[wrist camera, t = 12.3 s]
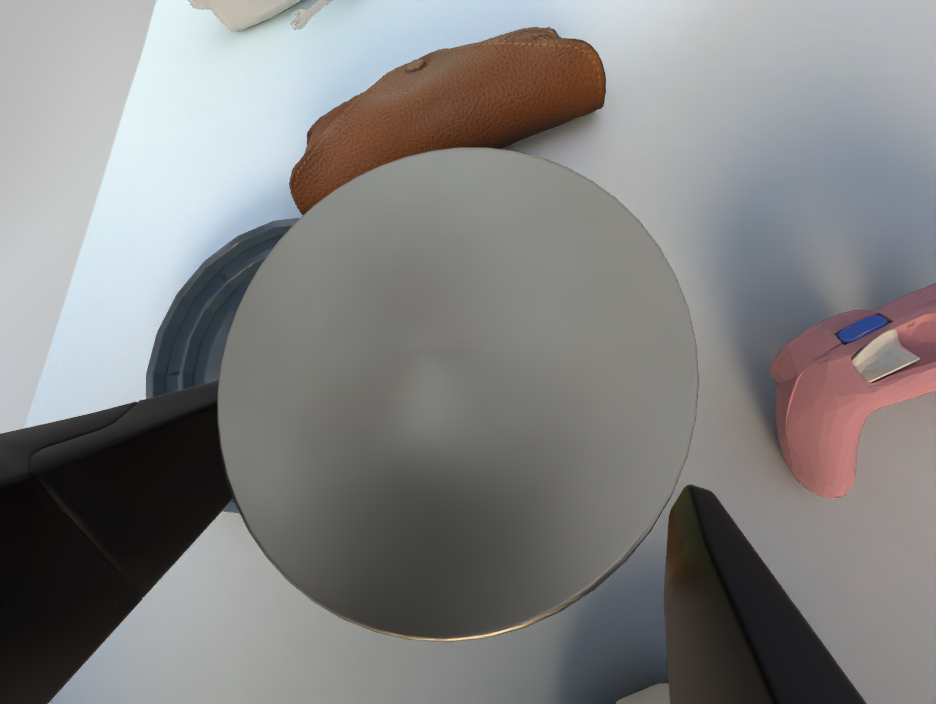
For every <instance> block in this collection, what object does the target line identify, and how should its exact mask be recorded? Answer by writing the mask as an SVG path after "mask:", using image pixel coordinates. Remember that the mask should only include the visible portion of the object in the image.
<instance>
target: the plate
mask: <svg viewBox="0 0 936 704" xmlns="http://www.w3.org/2000/svg"><path fill="white" fill-rule="evenodd" d="M299 219H300V218H295V219H286V220H277V221H272V222H270V223H268V224H265V225H263V226H260V227H258V228H256V229H253V230H251V231H248V232H246V233H244V234H241V235H239V236H237V237H236V238H234V239H233V240H232V241H230V242H229V243H228V244H226V245H225V246H224V247H222V248H221V249H220V250H218V251H217V252H216V253H215V254H213V255H212V256H211V257H209V258H208V259H207V260H205V261H204V262H203V264H202V265H201V266H200V267H199V268H198V270H197V271H196V272H195V273H194V274H193V275H192V277H191V278H190V279H189V280H188V281H187V283H186V284H185V285H184V286H183V287H182V289H181V290H180V291H179V292H178V294H177V295H176V297H175V299H174V301H173V303H172V305H171V307H170V309H169V310H168V312H167V314H166V316H165V318H164V320H163V322H162V324H161V326H160V328H159V330H158V332H157V335H156V339H155V342H154V346H153V350H152V354H151V358H150V361H149V365H148V369H147V373H146V374H147V375H146V399H149V398H152V397H156V396H160V395H164V394H168V393H171V392H175V391H179V390H183V389H186V388H190V387H194V386H198V385H202V384H205V383H209V382H213V381H217V380H219V376H220V368H221V362H222V358H223V354H224V349H225V345H226V341H227V337H228V334H229V331H230V328H231V325H232V323H233V320H234V317H235V314H236V311H237V309H238V307H239V305H240V303H241V301H242V298H243V296H244V294H245V292H246V290H247V288H248V286H249V284H250V283H251V281H252V279H253V278H254V276H255V274H256V273H257V271H258V269H259V267H260V266H261V264H262V263H263V261H264V260H265V259H266V257H267V256H268V255H269V253H270V252H271V251H272V249H273V248H274V247H275V245H276V244H277V242H278V241H279V240H280V239H281V238H282V237H283V236H284V235H285V234H286V233H287V231H288V230H289V229H290V228H291V227H292V226H293V225H294V224H295V223H296V222H297V221H298V220H299ZM222 511H224V512H234V513H239V511H238V509H237V507H236V504H235V502H234V499H232V500H231V501H230V503H229V504H228V505H227V506H226V507H225V508H224V509H223V510H222Z"/></svg>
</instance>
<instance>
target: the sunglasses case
mask: <svg viewBox="0 0 936 704" xmlns="http://www.w3.org/2000/svg"><path fill="white" fill-rule="evenodd" d="M605 86H606V78H605V72H604V68H603V64H602V61H601V59H600V57H599V55H598V53H597V52H596V50H595V49H594V48H593V47H592V46H591V45H590V44H588V43H587V42H585V41H583V40H577V39H567V38H563V39H562V38H560V37H559V36H558V34H557V33H556V31H555V30H554V29H551V28H550V27H548V28H538V27H532V28H527V29H525V28H524V29H521V30H517V31H513V32H510V33H507V34H504V35H500V36H497V37H494V38H491V39H488V40H485V41H482V42H479V43H473V44H469V45H465V46H460V47H456V48H451V49H448V48H447V49H441V50H437V51H435V52H432V53H429V54H427V55H425V56H423V57H421V58H419V59H418V60H414V61H412V62H411V63H408V64H405V65H403V66H401V67H398V68H396V69H394V70H393V71H390V72H389V73H387V74H386V75H385V76H383V77H382V78H381V79H380V80H378V81H377V82H376V83H375V84H374V85H373V86H372V87H370V88H369V89H368V90H367V91H365V92H364V93H361V94H360V95H357V96H355V97H353V98H352V99H350V100H349V101H347V102H344V103H343V104H341V105H340V106H338V107H336V108H334V109H333V110H331V111H330V112H328V113H327V114H326V115H324V116H322V117H320V118H319V119H318V120H317V121H316V122H315V124H314V125H312V127H311V128H310V129H309V131H308V133H307V148H306V151H305V154H304V156H303V157H302V158H301V159H300V161H299V162H298V163H297V164H296V165H295V167H294V168H293V170H292V173H291V177H290V183H289V185H290V190H291V194H292V197H293V199H294V202H295V204H296V205H297V208H298V209H299V211H300V212H301V213H302V215H304V214H306V213H307V212H308V211H309V210H310V209H311V208H312V207H313V206H314V205H316V204H317V203H318V202H320V201H321V200H322V199H324V198H325V197H326V196H328V195H329V194H330V193H332V192H333V191H335V190H336V189H338V188H339V187H341V186H343V185H344V184H346V183H348V182H349V181H351V180H353V179H354V178H356V177H358V176H360V175H362V174H364V173H366V172H368V171H370V170H373V169H375V168H377V167H379V166H381V165H384V164H387V163H390V162H392V161H395V160H398V159H401V158H404V157H407V156H411V155H416V154H420V153H424V152H429V151H434V150H443V149H451V148H494V149H500V148H502V147H505V146H507V145H510V144H512V143H515V142H517V141H520V140H522V139H524V138H527V137H529V136H532V135H534V134H537V133H539V132H542V131H544V130H547V129H550V128H553V127H555V126H558V125H561V124H563V123H566V122H568V121H570V120H573V119H575V118H578V117H581V116H584V115H587V114H590V113H592V112H594V111H595V110H597V109H601V108H602V107H603V104H604V99H605V93H606V87H605Z"/></svg>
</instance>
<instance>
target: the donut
mask: <svg viewBox="0 0 936 704" xmlns="http://www.w3.org/2000/svg"><path fill="white" fill-rule="evenodd" d="M615 704H670V699H669V683H661V684H656V685H653V686H651V687H648V688H646V689H643V690H641V691H639V692H636V693H634V694H631V695H629V696H626V697H624V698H622V699H620V700H618V701H617V702H616V703H615Z"/></svg>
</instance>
